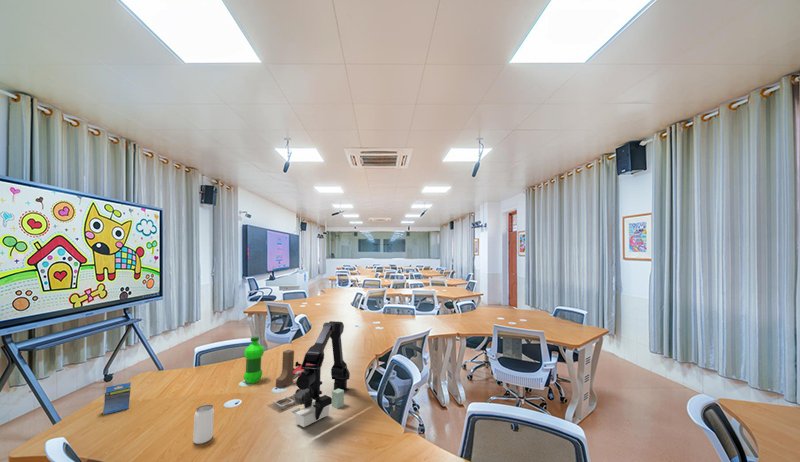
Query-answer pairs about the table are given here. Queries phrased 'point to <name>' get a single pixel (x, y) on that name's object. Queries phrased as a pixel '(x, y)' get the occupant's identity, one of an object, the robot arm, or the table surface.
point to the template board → (301, 408)
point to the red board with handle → (298, 369)
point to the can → (203, 424)
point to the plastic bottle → (253, 361)
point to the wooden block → (286, 369)
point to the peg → (337, 398)
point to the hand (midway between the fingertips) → (312, 417)
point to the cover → (309, 415)
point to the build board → (284, 404)
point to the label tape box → (117, 398)
